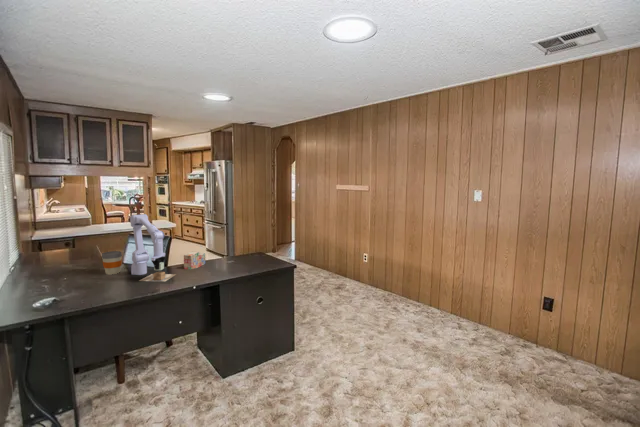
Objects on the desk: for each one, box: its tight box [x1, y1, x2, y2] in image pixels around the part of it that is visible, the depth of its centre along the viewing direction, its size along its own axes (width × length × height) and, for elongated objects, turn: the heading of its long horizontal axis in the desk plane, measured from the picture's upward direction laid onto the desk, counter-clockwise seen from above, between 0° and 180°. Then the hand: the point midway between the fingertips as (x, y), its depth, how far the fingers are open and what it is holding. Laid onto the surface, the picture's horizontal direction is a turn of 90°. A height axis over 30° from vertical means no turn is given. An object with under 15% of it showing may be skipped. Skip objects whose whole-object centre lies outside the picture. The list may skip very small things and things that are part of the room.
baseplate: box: [139, 273, 177, 282], centre depth 224 cm, size 18×16×1 cm
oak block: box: [152, 271, 166, 282], centre depth 219 cm, size 5×5×4 cm
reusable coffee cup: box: [101, 250, 123, 276], centre depth 236 cm, size 13×13×15 cm
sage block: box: [153, 261, 165, 271], centre depth 219 cm, size 4×4×4 cm
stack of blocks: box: [183, 251, 206, 270], centre depth 254 cm, size 21×6×12 cm, turn 171°
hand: (159, 268), depth 219 cm, fingers closed on sage block, 4 cm apart
